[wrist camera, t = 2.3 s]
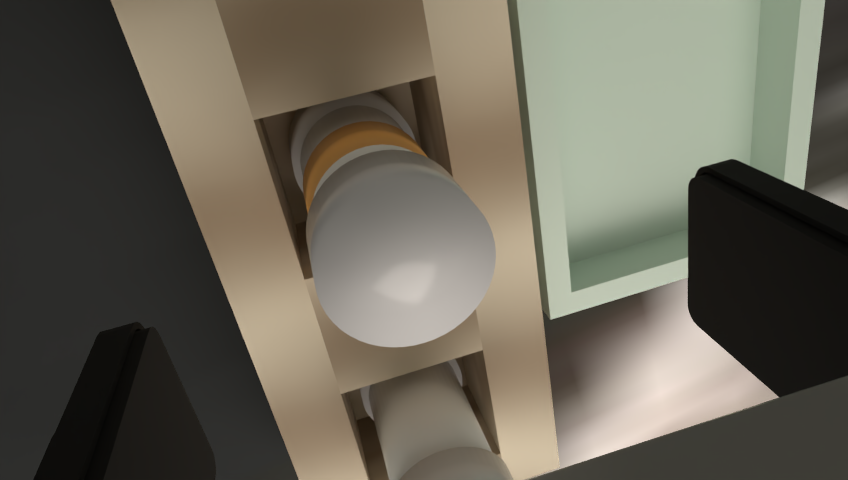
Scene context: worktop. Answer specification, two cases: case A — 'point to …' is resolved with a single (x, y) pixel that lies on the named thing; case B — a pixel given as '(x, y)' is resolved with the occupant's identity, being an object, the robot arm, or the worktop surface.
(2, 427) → the worktop surface
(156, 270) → the worktop surface
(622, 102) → the tray
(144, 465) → the robot arm
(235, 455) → the worktop surface
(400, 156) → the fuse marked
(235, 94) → the fuse block
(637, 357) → the worktop surface
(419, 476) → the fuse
